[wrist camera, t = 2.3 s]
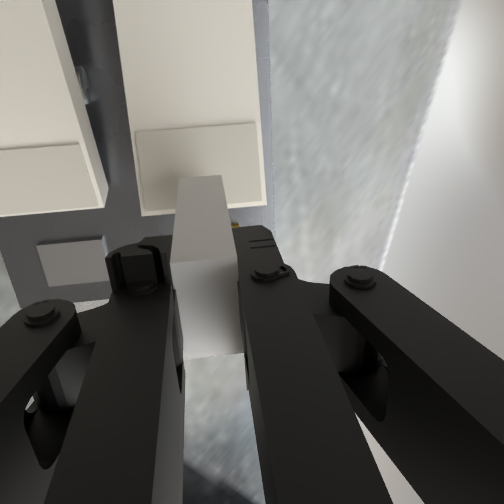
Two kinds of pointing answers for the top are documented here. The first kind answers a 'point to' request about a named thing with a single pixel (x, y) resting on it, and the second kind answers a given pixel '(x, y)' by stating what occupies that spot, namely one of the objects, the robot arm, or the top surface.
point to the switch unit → (110, 172)
